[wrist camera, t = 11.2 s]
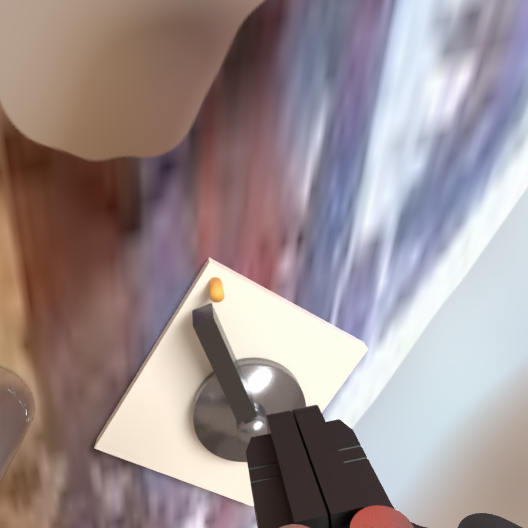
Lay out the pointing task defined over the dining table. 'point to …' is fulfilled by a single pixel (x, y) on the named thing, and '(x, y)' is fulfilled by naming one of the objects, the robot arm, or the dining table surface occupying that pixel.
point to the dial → (237, 392)
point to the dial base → (199, 368)
